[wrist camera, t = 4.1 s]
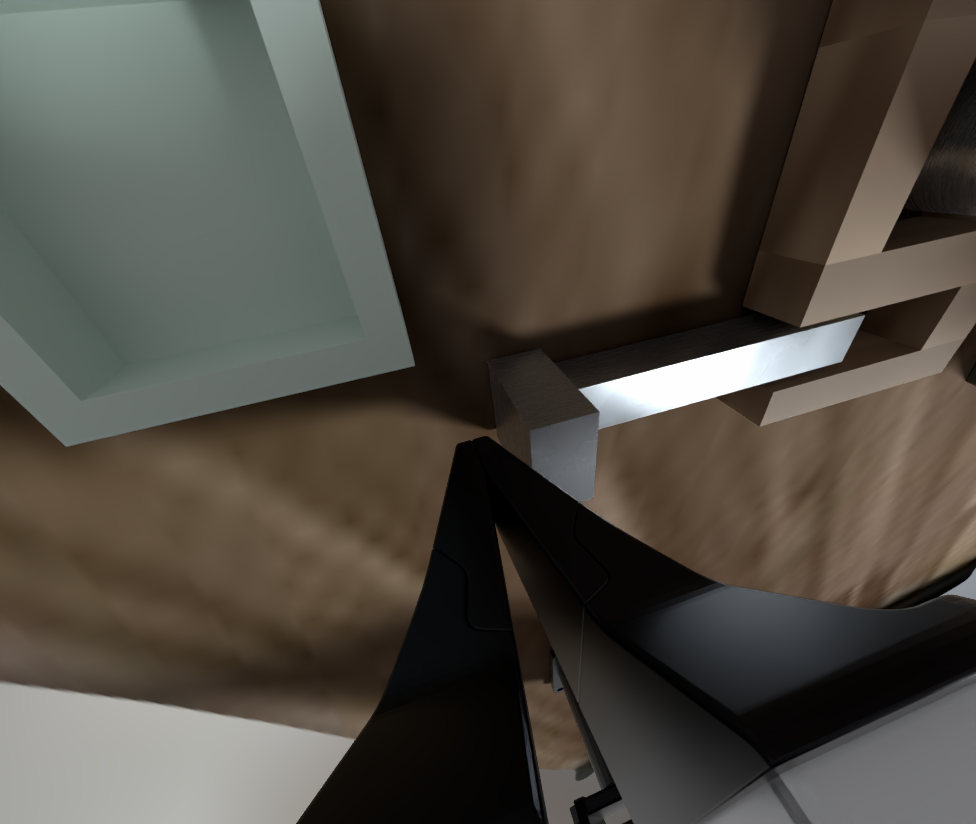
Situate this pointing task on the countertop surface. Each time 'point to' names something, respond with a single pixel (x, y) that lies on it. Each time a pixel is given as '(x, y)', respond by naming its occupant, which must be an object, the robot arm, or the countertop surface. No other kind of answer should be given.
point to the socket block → (868, 207)
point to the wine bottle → (972, 376)
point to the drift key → (643, 385)
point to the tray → (181, 214)
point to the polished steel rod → (951, 160)
